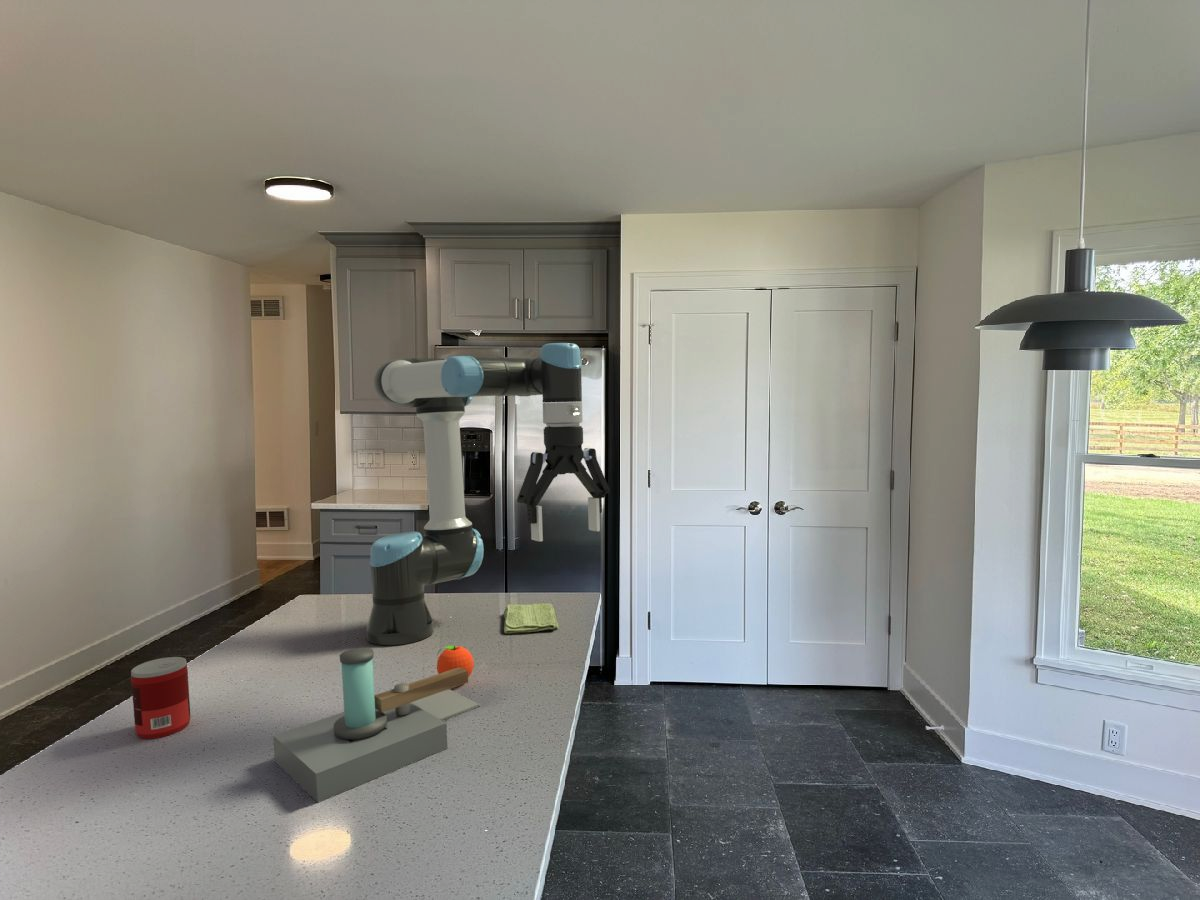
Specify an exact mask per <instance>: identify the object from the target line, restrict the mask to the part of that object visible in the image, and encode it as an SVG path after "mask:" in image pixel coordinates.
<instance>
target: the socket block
mask: <svg viewBox="0 0 1200 900" xmlns="http://www.w3.org/2000/svg"><path fill="white" fill-rule="evenodd" d="M375 710H376V711H378V710H377V709H375ZM383 713H385V714H386V717H387V725H386V727H385V728H384V729H383V730H382V731H380V732H379V733H377V734H375V735H372V736H369V737H366V738H361V739H358V740H356V741H353V742H350V741H348V740H347V739H341V738H338V737H336V736H335V734H334V723H335V722H336V721H337V720H338V719H339V718H341V717H343V716H344V711H343V712H339V713H337V714H333V715H331V716H328V717H325V718H322V719H319V720H316V721H313V722H310V723H307V724H305V725H302V726H299V727H296V728H292V729H290V730H286V731H284V732H280V733H277V734H274V735H273V736H272V738H273V752H274V753H273V754H274V762H275V763H276V764H277V765H278V767H280V768H281V769H282V770H283V771H284V772H285V774H287V775H288V776H289V777H290V778H291V779H293V780H294V782H296V783H297V784H298V785H299V786H300V788H302V789H303V790H304V791H305V792H306V793H307V794H308V795H309V796H310V797H311V798H312V799H313V800H314V801H315V802H317V803H321V802H323V801H326V800H327V799H330V798H332V797H335V796H338V795H340V794H342V793H344V792H346V791H349V790H352V789H354V788H357V787H359V786H362V785H363V784H366V783H368V782H371V781H373V780H375V779H378V778H380V777H382V776H385V775H388V774H390V773H392V772H395V771H398V770H399V769H402V768H404V767H406V766H410V765H411V764H413V763H416V762H419V761H421V760H424V759H426V758H428V757H430V756H433V755H435V754H437V753H440V752H442V751H444V750H447V749H448V732H447V731H448V729H447V722H445V720H443V721H442V720H440V719H438V718H437V717H435V716H433V715H431V714H430V713H428V712H426V711H424V710H423V709H421V708H419V707H417V706H416V705H414V704H412V703H410V712H409V713H408V714H406V715H396V710H395V708H394V709H391V710H388V711H385V712H383Z"/></svg>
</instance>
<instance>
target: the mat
mask: <svg viewBox="0 0 1200 900" xmlns="http://www.w3.org/2000/svg"><path fill="white" fill-rule="evenodd" d="M411 703H412V704H414V705H416V706H417V707H419V708H421V709H423V710H424V711H426V712H428V713H430V714H431V715H433V716H435V717H437V718H438V719H440V720H442V721H446V720H447V719H451V718H453V717H456V716H458V715H461V714H464V713H467V712H469V711H471V710H473V709H476V708H479V707H480V703H477V702H475V701H474V700H471V699H470V698H469V697H466V696H464V695H463V694H460V693H459V692H456V691H454V690H452V689H448V690H445V691H442V692H439V693H436V694H434V695H431V696H428V697H425V698H422V699H419V700H416V701H414V702H411Z"/></svg>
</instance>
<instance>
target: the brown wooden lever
mask: <svg viewBox="0 0 1200 900" xmlns="http://www.w3.org/2000/svg"><path fill="white" fill-rule="evenodd" d="M468 683H469V677H468V671H467V670H465V669H463V668H461V667H458V668H455V669H452V670H449V671H446V672H443V673H440V674H438V673H437V674H435V675H432V676H428V677H425V678H422V679H419V680H417V681H413V682H411V683H406V682H402V683H397V684H395V685H394V687H393V688H392V689H389V690H387V691H383V692H380V693H376V694H374V698H375V709H377V710H378V711H380V712H385V711H388V710H391V709H394V708H395V710H396V715H406V714H408V713H409V712H410V703H411V702H414V701H416V700H419V699H422V698H425V697H428V696H431V695H434V694H436V693H439V692H442V691H445V690H448V689H450V690H452V689H454V688H455V687H458V686H461V685H465V684H468Z"/></svg>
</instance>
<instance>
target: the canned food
mask: <svg viewBox="0 0 1200 900" xmlns="http://www.w3.org/2000/svg"><path fill="white" fill-rule="evenodd" d="M130 681H131V682H130V684H131V694H132V695H131V697H132V706H133V718H134V731H135V733H136V735H137V737H138V738H140V739H143V740H144V739H145V740H152V739H159V738H164V737H168V736H171V735H174V734H176V732H177V733H179V732H180V731H183V730H184V729H185V728H187V727H188V725H190V722H191V718H192V717H191V702H190V689H189V687H190V685H189V671H188V662H187V659H186V658H184V657H181V656H171V657H168V656H167V657H161V658H156V659H152V660H149V661H145V662H143V663H140V664H138V665H136V666H135V667H133V668H132V669H131V671H130Z"/></svg>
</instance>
